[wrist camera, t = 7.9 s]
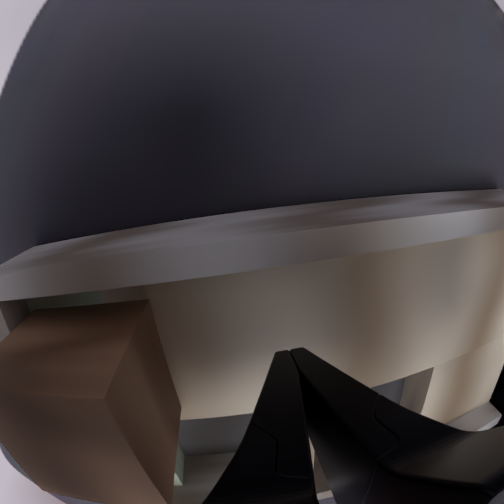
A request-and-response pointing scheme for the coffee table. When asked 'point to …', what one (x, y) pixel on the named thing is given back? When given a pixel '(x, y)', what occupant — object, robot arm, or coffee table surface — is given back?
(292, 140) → the coffee table surface
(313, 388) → the robot arm
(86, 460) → the walnut block
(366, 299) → the grey slotted tray
